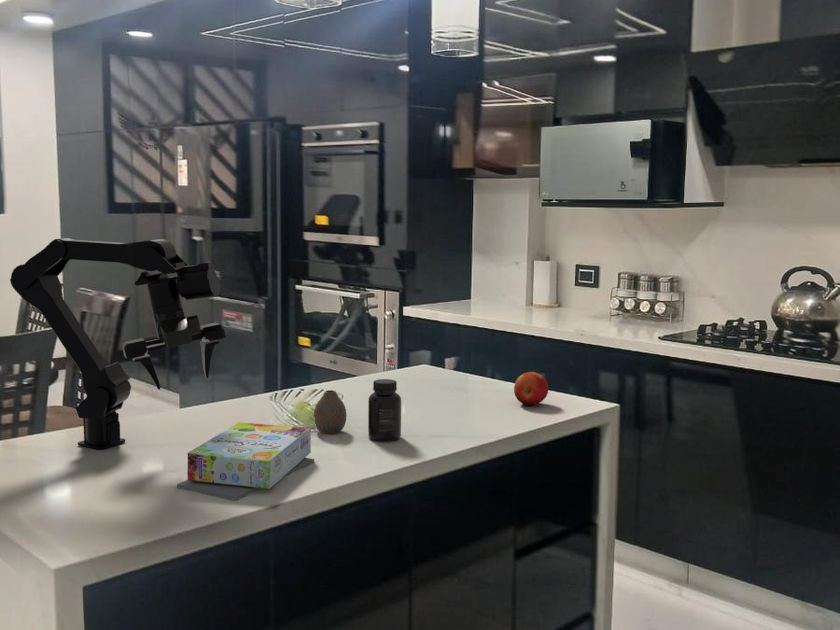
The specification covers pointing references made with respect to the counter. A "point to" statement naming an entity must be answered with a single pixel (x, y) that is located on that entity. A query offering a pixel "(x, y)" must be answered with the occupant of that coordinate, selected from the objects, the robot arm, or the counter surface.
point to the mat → (231, 490)
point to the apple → (530, 388)
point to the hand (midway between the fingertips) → (183, 383)
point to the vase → (330, 413)
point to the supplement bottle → (384, 411)
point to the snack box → (249, 455)
